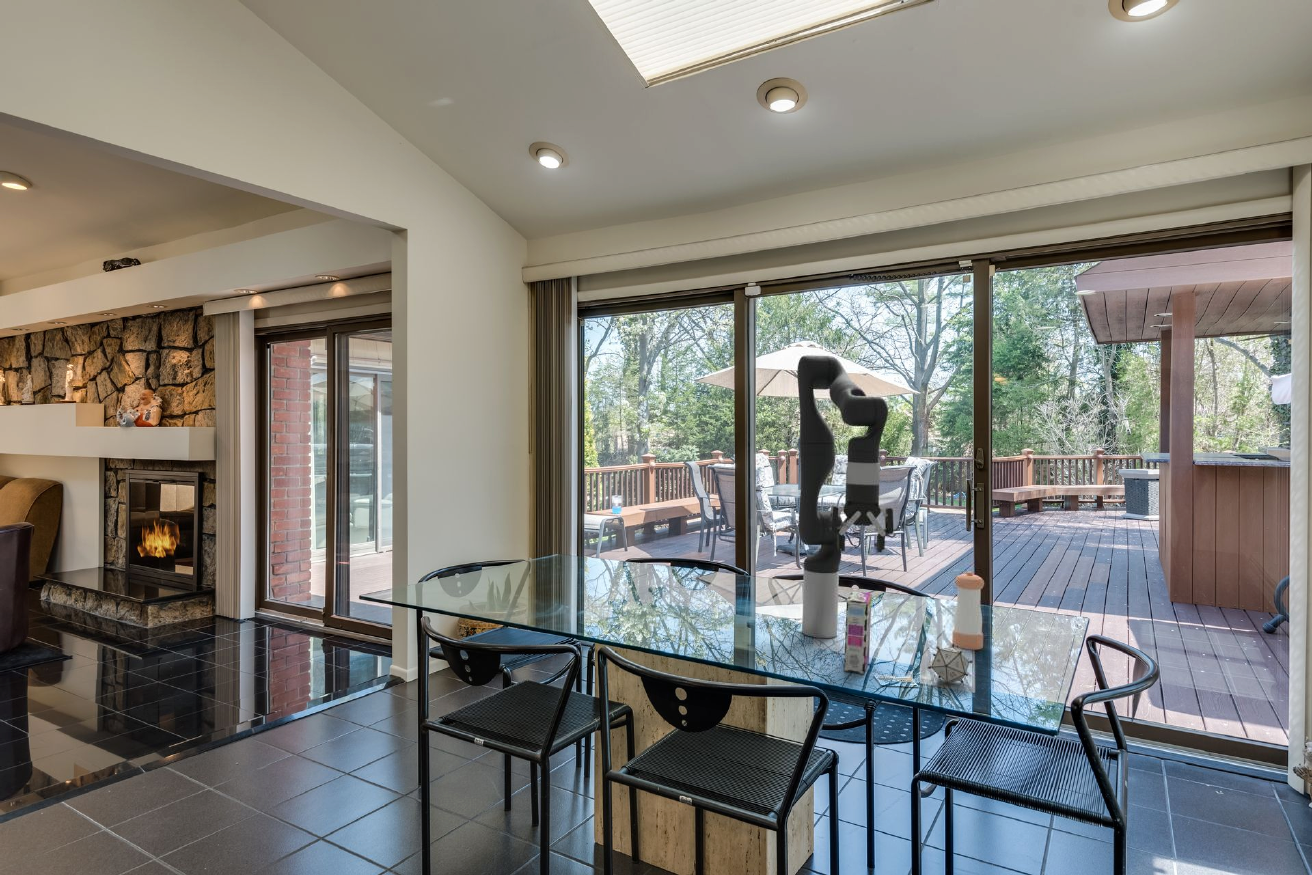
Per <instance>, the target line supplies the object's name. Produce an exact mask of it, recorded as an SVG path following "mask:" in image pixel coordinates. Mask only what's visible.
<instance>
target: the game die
mask: <svg viewBox="0 0 1312 875" xmlns="http://www.w3.org/2000/svg"><path fill="white" fill-rule="evenodd" d="M955 647H956V646H955V645H954V644H951V647H945V648H940V647H939V646H936V649H937V651H936V653H932V656H933V657H934V658H933V661H932V663H931V666H927V669H928V670H931V669H932V670H933V671H934V672H935V674H937V675H938V679H942V680H943V681H944V682H945V686H947V687H948V686H949V684H950V683H956V682H959V681H960V682H961V684H965V683H964V682H965V681H964V680H963V679H964V677H969V674H968V673H967V671H968V669H969V664H973V662H974V661H973V660H968V659H967V658H966V657H965V656H964V655H963V651H962V650H958V649H956V648H955Z"/></svg>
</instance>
